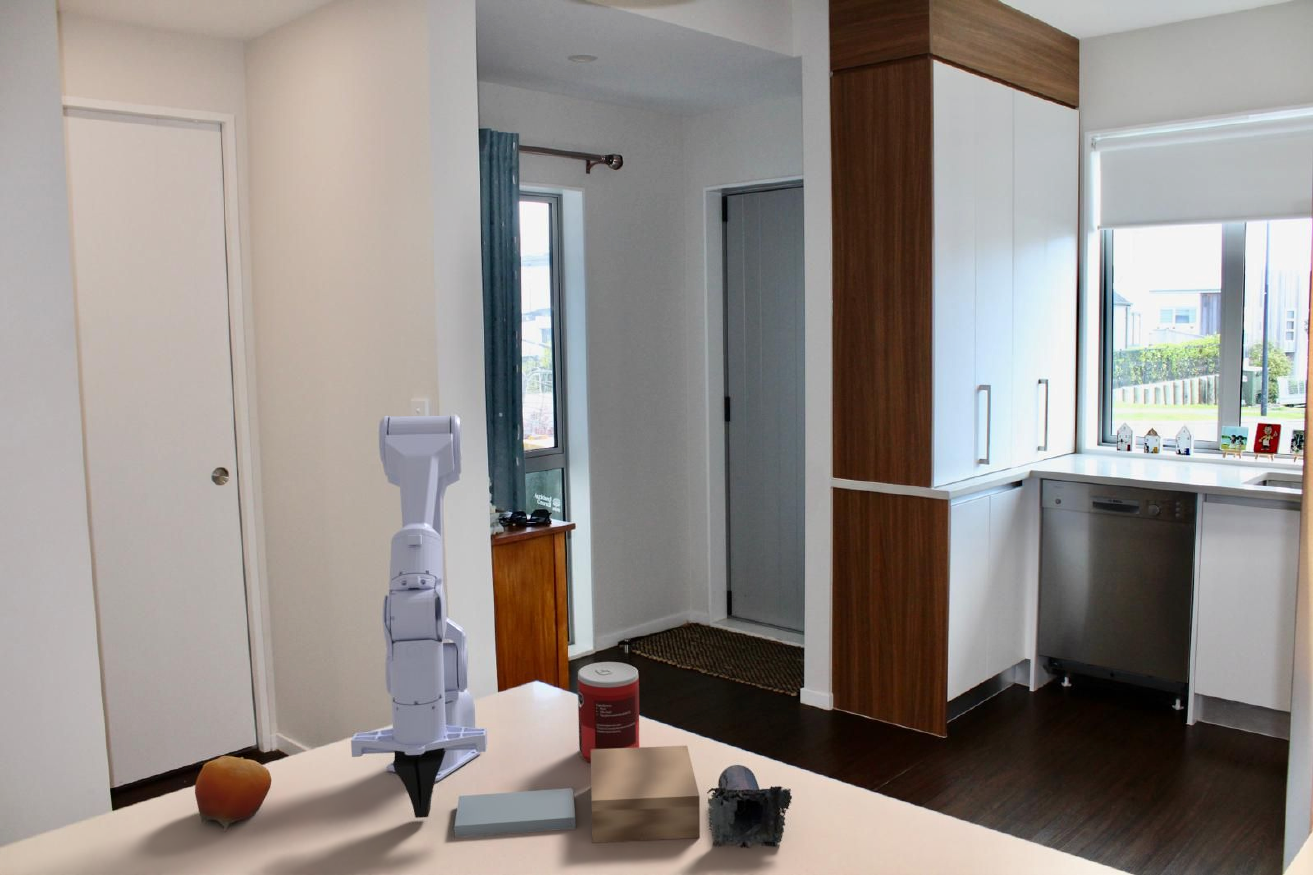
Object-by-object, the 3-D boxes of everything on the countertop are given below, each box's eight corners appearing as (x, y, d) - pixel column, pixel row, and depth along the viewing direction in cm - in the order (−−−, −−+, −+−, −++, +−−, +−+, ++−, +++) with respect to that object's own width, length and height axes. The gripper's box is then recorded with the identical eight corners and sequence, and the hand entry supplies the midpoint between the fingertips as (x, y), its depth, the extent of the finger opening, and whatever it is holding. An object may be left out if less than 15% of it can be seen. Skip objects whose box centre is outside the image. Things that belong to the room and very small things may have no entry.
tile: (455, 841, 109) (454, 826, 109) (459, 810, 116) (459, 796, 116) (575, 832, 111) (575, 817, 110) (572, 803, 117) (572, 788, 117)
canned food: (603, 737, 135) (602, 657, 134) (652, 751, 130) (651, 669, 129) (566, 757, 129) (564, 674, 127) (615, 773, 124) (614, 686, 123)
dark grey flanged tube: (781, 861, 106) (761, 812, 118) (795, 790, 106) (773, 748, 118) (697, 849, 105) (685, 801, 117) (710, 777, 105) (697, 737, 117)
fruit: (164, 821, 110) (190, 746, 113) (213, 828, 117) (236, 757, 120) (223, 833, 107) (247, 756, 110) (270, 839, 114) (291, 766, 117)
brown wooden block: (592, 842, 107) (591, 800, 107) (591, 787, 120) (590, 749, 120) (699, 837, 108) (699, 795, 108) (687, 783, 121) (687, 745, 120)
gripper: (342, 712, 106) (348, 834, 108) (480, 706, 107) (484, 828, 109) (357, 688, 113) (362, 803, 115) (487, 683, 114) (491, 797, 116)
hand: (422, 813), depth 112 cm, fingers closed
